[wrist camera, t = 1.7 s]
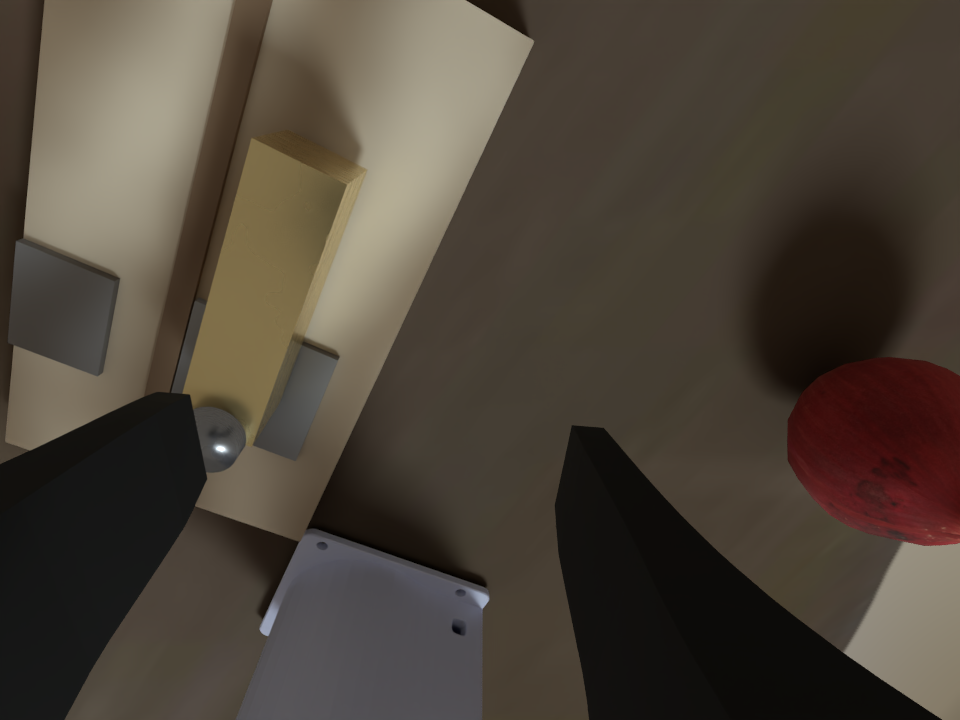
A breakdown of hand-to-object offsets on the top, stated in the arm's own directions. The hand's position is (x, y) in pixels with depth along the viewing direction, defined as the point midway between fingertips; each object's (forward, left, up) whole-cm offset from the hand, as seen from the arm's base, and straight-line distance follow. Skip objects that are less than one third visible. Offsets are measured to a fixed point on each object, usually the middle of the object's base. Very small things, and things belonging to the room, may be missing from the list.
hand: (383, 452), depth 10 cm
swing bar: (+4, +2, -8) cm, 9 cm away
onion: (-16, -3, -10) cm, 19 cm away
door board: (+6, +3, -10) cm, 12 cm away
